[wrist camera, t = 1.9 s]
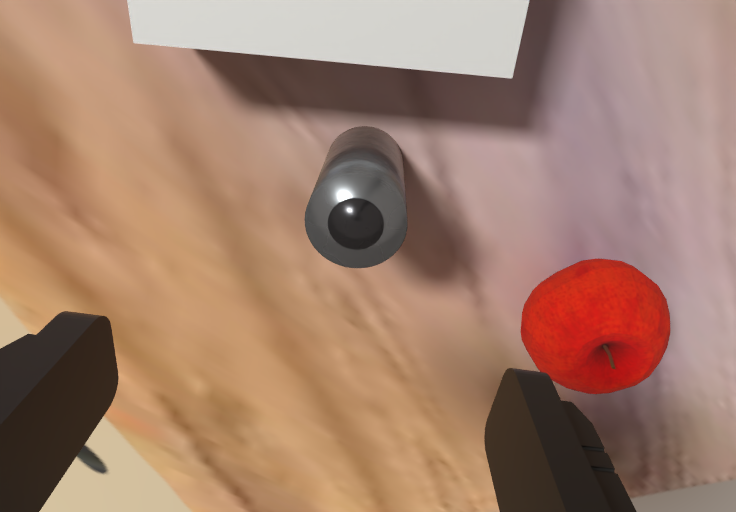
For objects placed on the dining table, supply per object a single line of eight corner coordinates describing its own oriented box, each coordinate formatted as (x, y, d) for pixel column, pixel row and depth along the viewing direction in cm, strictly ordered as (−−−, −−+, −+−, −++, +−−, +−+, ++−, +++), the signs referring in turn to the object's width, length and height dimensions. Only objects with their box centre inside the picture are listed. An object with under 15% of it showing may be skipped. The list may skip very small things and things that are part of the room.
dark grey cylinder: (407, 130, 26) (413, 180, 19) (398, 203, 28) (401, 273, 21) (328, 122, 26) (305, 170, 19) (325, 196, 28) (303, 264, 21)
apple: (572, 209, 28) (627, 274, 21) (662, 276, 30) (737, 354, 23) (483, 299, 31) (507, 379, 25) (569, 354, 33) (612, 441, 27)
